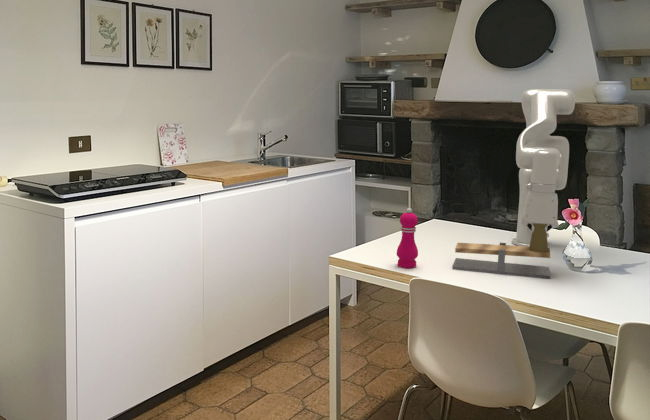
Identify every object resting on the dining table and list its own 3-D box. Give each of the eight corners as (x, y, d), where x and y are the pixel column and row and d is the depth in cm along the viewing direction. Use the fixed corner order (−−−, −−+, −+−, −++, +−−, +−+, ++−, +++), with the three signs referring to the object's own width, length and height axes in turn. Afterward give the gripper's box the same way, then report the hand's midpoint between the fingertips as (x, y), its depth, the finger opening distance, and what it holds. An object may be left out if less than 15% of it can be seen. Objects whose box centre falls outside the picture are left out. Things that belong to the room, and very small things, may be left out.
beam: (455, 254, 207) (455, 248, 207) (457, 248, 215) (457, 242, 214) (550, 260, 198) (550, 253, 198) (549, 253, 206) (549, 247, 205)
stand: (452, 269, 207) (453, 245, 205) (455, 260, 217) (456, 238, 216) (550, 278, 198) (552, 254, 196) (548, 269, 208) (550, 246, 207)
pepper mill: (402, 261, 215) (404, 205, 211) (421, 265, 211) (423, 207, 207) (392, 266, 209) (394, 208, 205) (411, 270, 205) (414, 211, 201)
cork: (549, 252, 199) (551, 219, 197) (530, 251, 200) (531, 218, 198) (546, 248, 205) (548, 215, 203) (527, 247, 206) (529, 215, 204)
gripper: (517, 188, 198) (513, 244, 201) (569, 191, 193) (563, 248, 197) (517, 185, 205) (513, 239, 208) (567, 188, 200) (562, 243, 204)
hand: (537, 243), depth 202 cm, fingers closed on cork, 1 cm apart
